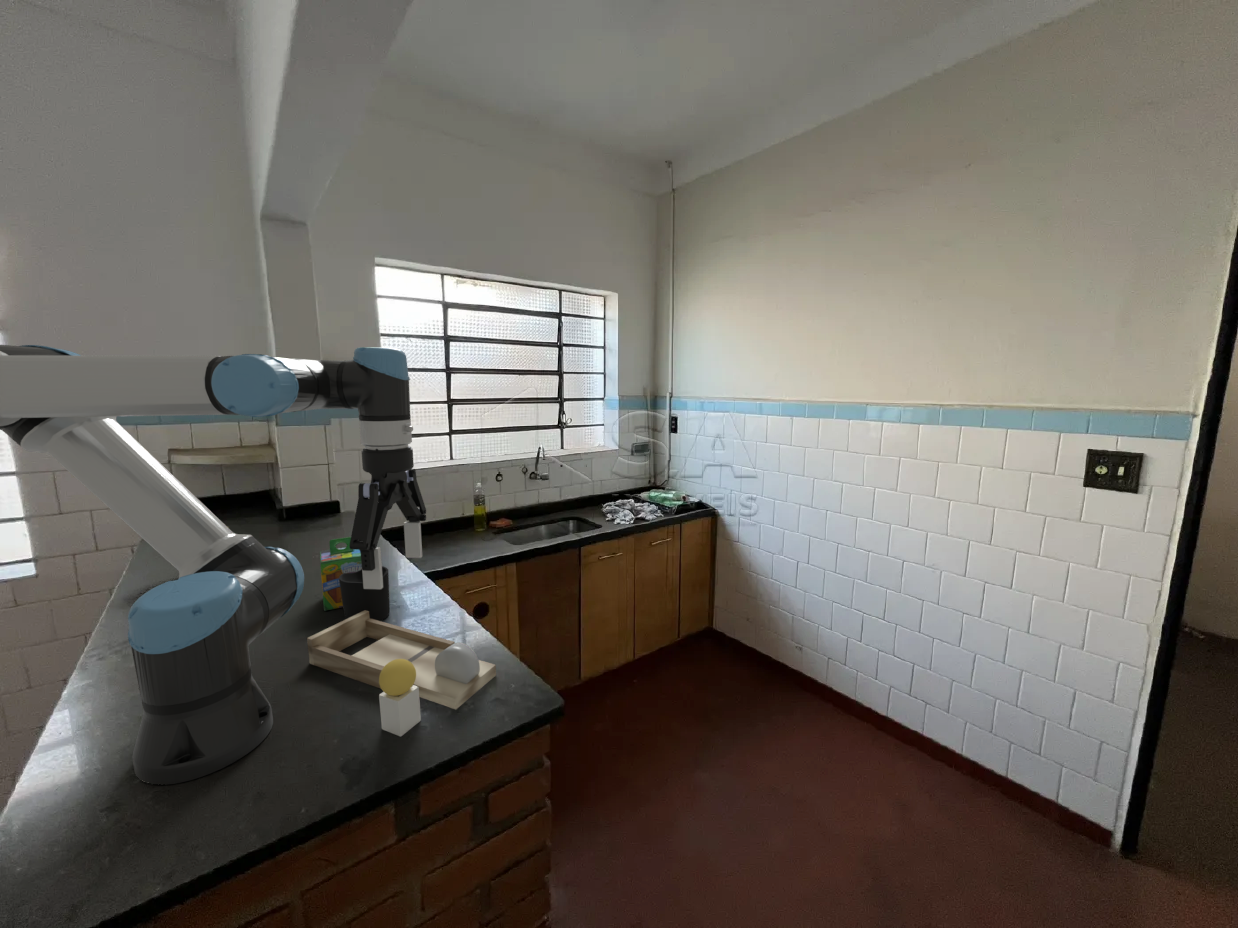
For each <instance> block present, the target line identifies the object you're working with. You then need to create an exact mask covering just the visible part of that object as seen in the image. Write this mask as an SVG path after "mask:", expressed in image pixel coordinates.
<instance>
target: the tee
mask: <svg viewBox="0 0 1238 928" xmlns="http://www.w3.org/2000/svg"><path fill="white" fill-rule="evenodd" d="M378 700H379V711H380V713H379V714H380V723H381V729H382V730H383V731H386V732H388V733H390V734H393V735H396V736H398V737H402V736H404V735H405V734H406V733H407V732H409V731H410V730H412V729H413V727H415V726H416V725H417V724H418V723H420V722H421V721H422V716H421V702H420V697H419V687H417V686H414V685H413V686H412V687H411V688H410V689H409V690H408V691H407V692H406V693H404V694H401V695H398V696H392V695H388V694H386V693H385V692H384V691H382V692H381V693H379V695H378Z"/></svg>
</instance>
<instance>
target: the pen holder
mask: <svg viewBox="0 0 1238 928" xmlns="http://www.w3.org/2000/svg"><path fill="white" fill-rule="evenodd" d="M382 576H383V588H382V589H364V587H363V574H362V569H361V570H359V571H357V572H354V573H344V574H341V575H340V576H339V582H340V589H341V596H342V603H343V607H342V609H343V615H344V620H346V619H348V618H350V617H352V616H354V615H356V614H358V613H360V612H362V611H364V610H366V611H369V616H370V619H374V620H378V621H381V622H383V620H385V619H386V618H387V617H388V616H389V614H390V581H389V579H390V578H389V569H388V567H385V566H383V565H382Z"/></svg>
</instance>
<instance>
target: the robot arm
mask: <svg viewBox="0 0 1238 928" xmlns="http://www.w3.org/2000/svg"><path fill="white" fill-rule="evenodd" d="M352 358H353V359H349V360H337V359H336V360H334V359H330V360H329V359H312V358H311V359H309V358H296V357H280V356H279V357H278V356H270V355H268V354H259V353H258V354H256V353H242V354H237V355H224V356H222V355H82V354H79V353H77V352H73V351H70V350H66V349H62V348H55V347H51V346H48V345H46V346H45V345H39V344H38V345H37V344H24V345H22V344H21V345H12V344H11V345H9V344H0V431H2V432H4V433H5V434H6V435H7V436H8V437H9V438H10V439H12V441H14V442H15V443H16V444H17V445H18V446H20V448H22V449H23V450H24V451H26V452H29V453H38V454H39V453H40V454H47V455H49V456H51V458H53V459H54V460H55V461H56V462H57V463H58V464H60V466H61V467H63V468H64V469H65V470H66V471H67V472H68V473H69V474H70V475H71V476H73V477H74V478H75V479H76V480H77V481H78V482H80V484H81V485H83V486H84V487H85V488H86V489H87V490H88V491H89V492H90V493H92V495H93V496H95V497H96V498H97V499H98V500H99V501H101V502H102V503H103V504H104V505H105V506H106V507H107V508H109V510H110V511H111V512H113V514H115V515H116V516H117V517H118V518H119V519H121V520H122V521H123V522H124V523H125V525H127V526H128V527H129V528H130V529H132V531H134V532H135V533H136V534H137V535H138V536H140V538H141V539H142V540H144V541H145V542H146V543H147V544H149V546H150V547H152V548H153V549H154V550H155V551H156V552H157V553H158V554H159V555H160V556H161V557H163V558H164V560H166V561H167V562H168V563H169V564H171V565H172V566H173V567H174V568H175V569H176V570H177V571H179V572H178V579H175V580H168V581H166V582H163V583H162V584H158V585H157V586H155V587H152V588H151V589H149V590H147V591H146V592H145V593H143V594H142V595H140V596H139V597H138V598H137V599H136V600H135V602H134V603H132V605H131V607H130V608H129V610H128V615H127V621H128V630H127V631H128V632H127V639H128V644H129V646H130V647H131V648H130V649H131V652H132V658H133V663H134V667H135V672H136V673H135V674H136V679H137V683H138V684H137V685H138V689H139V694H140V700H141V705H142V710H143V711H142V712H143V713H142V717H141V721H140V725H139V728H138V733H137V736H136V740H135V744H134V747H133V752H132V765H133V769H134V770H133V771H134V775H135V774H136V775H135V777H136V776H137V777H138V778H139V779H140V780H143V781H145V782H149V783H152V784H151V785H153V784H158V785H157V786H162V785H163V784H165V785H174V784H179V783H185V782H190V781H193V780H196V779H199V778H203V777H205V776H207V775H210V774H212V773H215V772H217V771H219V770H222V769H224V768H226V767H227V766H230V765H231V764H233V763H235V762H237V761H238V760H239V761H240V759H242V758H244V757H245V756H246V755H248V754H249V753H251V752H252V751H253V750H254V749H256V748H257V747H258V746H259V745H260V744H261V743H263V741H264V740H265V739H266V738H267V737H268V735H269V734H270V732H271V730H272V728H273V724H274V717H273V709H272V705H271V703H270V702H269V701H270V700H268V699H267V697H266V696H265V694H264V692H263V691H262V689H261V688H260V686H259V685H258V682H256V679H254V677H253V672H252V664H251V659H250V658H251V657H250V649H249V645H250V644H251V643H252V642H254V641H255V640H256V638H258V637H259V636H260V635H261V634H263V633H264V632H265V631H267V629H269V628H270V627H271V626H272V625H273V624H274V623H276V622H277V621H278V620H279V619H281V618H282V617H283V616H284V615H286V614H287V613H289V612H290V610H291V609H292V607H293V606H294V605H295V604H296V603H297V601H298V600H299V599H300V597H301V595H302V593H303V591H304V587H305V586H304V585H305V573H304V570H303V567H302V564H301V562H300V561H299V560H298V559H297V557H296V556H295V555H293V554H292V553H291V552H289V551H287V550H286V549H283V548H280V547H273V546H264V545H263V544H262V543H261V542H260V541H259V540H258V539H256V538H255V537H254V536H253V535H252V534H244V533H243V534H238V533H235V532H234V531H232V530H231V529H229V528H230V527H229V526H228V527H229V528H228V527H227V525H226V524H225V523H224V522H223V521H222V520H221V519H219V517H217V516H216V515H215V514H214V513H213V512H212V511H211V510H210V509H209V508H208V507H207V506H206V505H205V504H204V503H203V502H202V501H201V500H200V499H199V498H197V496H196V495H194V493H192V492H191V491H190V490H189V489H188V488H187V487H186V485H184V484H183V483H182V482H181V481H180V480H179V479H178V478H176V477H175V475H173V474H172V473H171V472H170V471H169V470H168V468H166V467H165V466H164V465H163V464H162V463H161V462H160V461H159V460H157V458H155V456H153V454H152V453H150V452H149V451H148V450H147V449H146V448H145V447H144V446H143V445H142V444H141V442H139V441H138V440H137V439H136V438H135V437H133V436H132V435H131V434H130V432H128V431H127V430H126V429H125V428H124V427H123V426H122V425H121V424H120V423H119V422H118V421H117V417H152V416H153V417H155V416H156V417H157V416H159V417H161V416H162V417H163V416H164V417H165V416H169V417H170V416H217V415H218V416H219V415H220V416H222V415H223V416H225V415H232V416H244V417H253V418H259V417H260V418H261V417H272V416H275V415H279V414H286V413H295V412H302V411H303V412H304V411H311V410H313V411H314V410H338V409H339V410H342V409H344V410H345V409H347V410H354V409H357V411H358V420H359V421H358V424H359V439H360V440H359V442H360V445H361V446H364V447H363V448H362V450H361V453H360V454H361V462H362V463H361V464H362V469H363V471H364V472H365V473H369V474H370V476H371V478H370V483H369V482H361V483H360V482H359V484H358V487H357V488H358V493H357V494H358V499H357V504H356V510H355V515H354V520H353V523H352V524H353V525H352V530H351V535H350V537H351V540H350V545H349V547H350V549H358V550H360V552H361V561H362V562H361V564H362V574H363V587H364V589H382V588H383V576H382V566H383V563H382V551H381V550H382V549H381V547H380V546H378V544H379V541H380V537H381V533H382V531H383V527H384V524H385V521H386V518H387V514H388V512H389V511H390V510H391V509H392V508H393V506H394V505H395V504H396V506H397V507H398V509H399V510H400V511H401V514H402V515H403V517H404V518H405V520H406V521H404V522H403V532H404V533H403V535H404V547H405V549H404V551H405V558H409V559H410V558H412V559H422V557H423V546H422V544H423V543H422V525H421V522H425V521H426V520H427V515H426V514H427V508H426V506H425V502H424V499H423V496H422V492H421V490H420V487H419V483H418V480H417V471H416V470H417V469H415V468H414V451H413V448H412V446H410V444H411V443H413V439H412V438H413V437H412V436H413V435H412V432H413V431H414V427H413V426H412V420H411V419H412V416H411V403H410V402H411V398H410V396H411V394H410V376H409V370H408V358H407V355H406V353H405V352H404V351H403V349H402V350H401V349H398V348H393V347H377V346H376V347H375V346H374V347H372V346H368V347H364V346H363V347H357V348H355V350H354V352H353V357H352ZM137 777H136V778H137ZM138 778H137V779H138ZM139 779H138V780H139ZM140 780H139V781H140ZM159 784H161V785H159ZM165 785H164V786H165Z"/></svg>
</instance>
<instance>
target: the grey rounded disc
mask: <svg viewBox="0 0 1238 928" xmlns="http://www.w3.org/2000/svg"><path fill="white" fill-rule="evenodd" d="M479 660H480V659H479V658H478V655H477V653H476V652H475V651H474V650H473V649H472V647H470V646H469V645H467V644H466V643H464V642H455V643H454V644H452V645H451V646H449V647H448V648H446V649H445V650H443V651H442V652H441V653H439V654H438V655H437V657H436V659H435V671H436V674H437V675H439V676H442V677H445V678H448V679H451V680H454V681H458V682H461V683H464V684H467V683H469V682H470V681H471V680H472V679H473V678H475V677H476V676H477V675H478V674H479V671H480V664H479Z"/></svg>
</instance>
